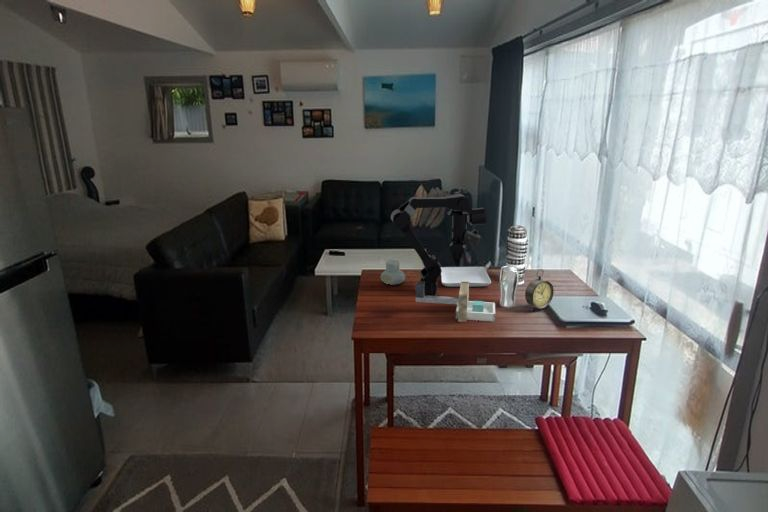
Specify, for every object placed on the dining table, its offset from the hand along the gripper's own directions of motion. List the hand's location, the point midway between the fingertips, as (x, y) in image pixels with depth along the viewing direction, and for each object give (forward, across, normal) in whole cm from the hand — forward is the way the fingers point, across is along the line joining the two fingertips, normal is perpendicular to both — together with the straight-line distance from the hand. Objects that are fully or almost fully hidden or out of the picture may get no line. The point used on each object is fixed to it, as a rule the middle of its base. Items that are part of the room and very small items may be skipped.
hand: (458, 262), depth 192 cm
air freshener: (+13, +6, +29) cm, 32 cm away
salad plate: (+14, +14, -2) cm, 20 cm away
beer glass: (+13, -11, -20) cm, 26 cm away
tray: (+13, -22, -8) cm, 27 cm away
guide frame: (+13, -22, -4) cm, 26 cm away
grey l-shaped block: (+9, -22, +6) cm, 24 cm away
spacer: (+10, -22, -7) cm, 25 cm away
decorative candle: (+13, +16, -24) cm, 32 cm away
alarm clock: (+13, -13, -31) cm, 36 cm away
